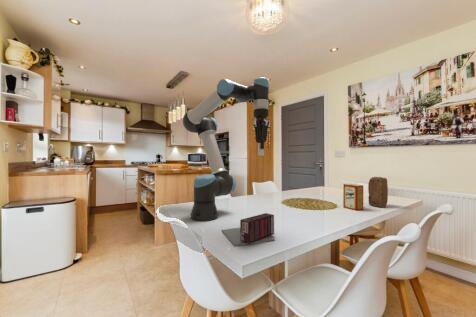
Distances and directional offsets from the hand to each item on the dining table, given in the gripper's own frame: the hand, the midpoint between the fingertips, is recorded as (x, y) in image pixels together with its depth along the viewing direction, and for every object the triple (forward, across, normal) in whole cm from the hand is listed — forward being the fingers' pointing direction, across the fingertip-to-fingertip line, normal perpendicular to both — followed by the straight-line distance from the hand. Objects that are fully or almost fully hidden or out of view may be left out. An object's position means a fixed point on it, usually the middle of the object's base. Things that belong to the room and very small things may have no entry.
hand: (260, 155), depth 110 cm
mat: (+34, -14, +14) cm, 40 cm away
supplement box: (+30, -16, +3) cm, 34 cm away
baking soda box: (+35, +8, -71) cm, 79 cm away
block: (+35, +8, -93) cm, 100 cm away
